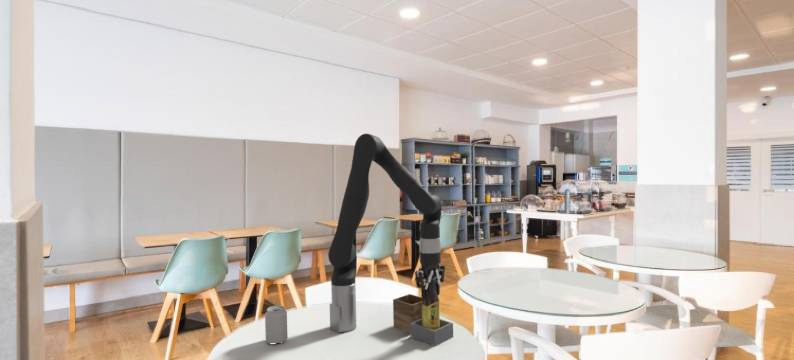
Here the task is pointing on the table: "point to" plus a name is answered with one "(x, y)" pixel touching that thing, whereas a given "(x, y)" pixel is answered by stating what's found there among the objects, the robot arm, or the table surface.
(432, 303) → the sauce bottle
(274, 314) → the can
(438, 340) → the low holder
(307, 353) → the table surface
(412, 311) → the box
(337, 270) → the robot arm
